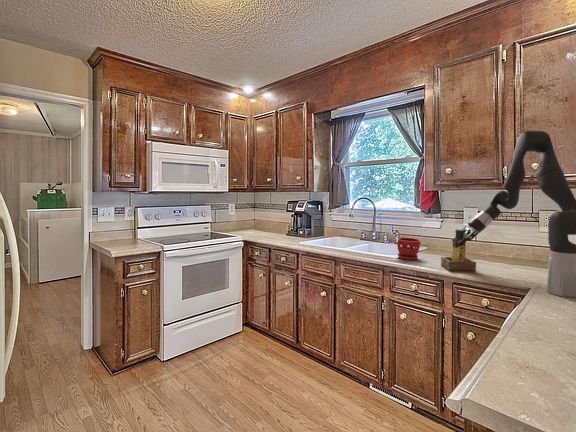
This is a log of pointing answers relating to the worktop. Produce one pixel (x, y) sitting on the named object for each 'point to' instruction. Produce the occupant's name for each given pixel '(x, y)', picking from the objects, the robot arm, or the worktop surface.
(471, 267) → the brown wooden tray
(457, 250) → the sauce bottle
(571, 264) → the robot arm
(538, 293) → the worktop surface
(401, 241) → the plant pot
